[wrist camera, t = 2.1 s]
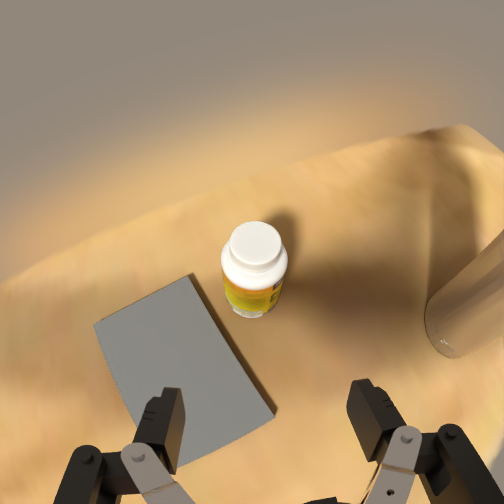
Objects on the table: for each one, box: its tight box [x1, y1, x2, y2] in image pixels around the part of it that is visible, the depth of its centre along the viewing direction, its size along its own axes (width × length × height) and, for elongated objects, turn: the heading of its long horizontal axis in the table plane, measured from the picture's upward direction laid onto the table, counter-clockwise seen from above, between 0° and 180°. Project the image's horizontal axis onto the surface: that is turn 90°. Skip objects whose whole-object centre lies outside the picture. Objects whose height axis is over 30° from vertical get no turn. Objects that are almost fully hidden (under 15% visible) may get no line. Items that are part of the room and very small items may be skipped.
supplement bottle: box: [221, 221, 288, 318], centre depth 26 cm, size 6×6×10 cm
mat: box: [93, 276, 275, 468], centre depth 26 cm, size 12×17×1 cm
